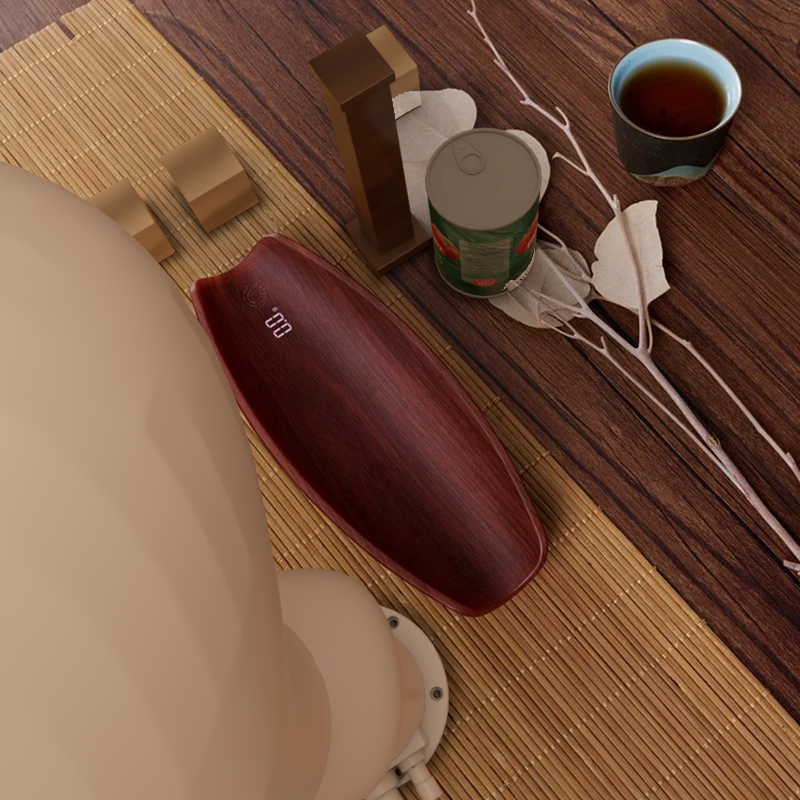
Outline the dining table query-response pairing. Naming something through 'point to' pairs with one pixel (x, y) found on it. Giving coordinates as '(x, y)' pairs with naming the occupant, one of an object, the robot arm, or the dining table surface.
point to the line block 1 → (133, 217)
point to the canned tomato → (483, 210)
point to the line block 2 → (210, 178)
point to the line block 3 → (396, 61)
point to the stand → (369, 151)
